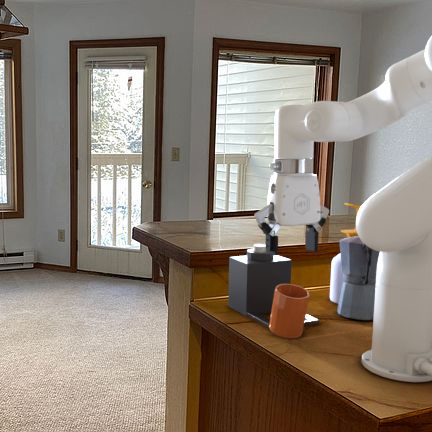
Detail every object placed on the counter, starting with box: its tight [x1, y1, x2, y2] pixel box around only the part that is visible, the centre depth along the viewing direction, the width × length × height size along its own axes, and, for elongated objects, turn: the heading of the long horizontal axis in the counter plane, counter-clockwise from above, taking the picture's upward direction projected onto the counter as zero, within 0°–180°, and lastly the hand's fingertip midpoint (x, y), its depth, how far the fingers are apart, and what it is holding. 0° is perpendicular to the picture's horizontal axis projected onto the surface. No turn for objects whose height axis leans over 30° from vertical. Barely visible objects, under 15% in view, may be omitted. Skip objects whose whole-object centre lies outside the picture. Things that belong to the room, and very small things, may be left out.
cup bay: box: [245, 311, 320, 330], centre depth 124 cm, size 10×12×1 cm
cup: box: [269, 283, 311, 339], centre depth 114 cm, size 7×7×9 cm
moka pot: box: [336, 236, 380, 321], centre depth 125 cm, size 10×15×20 cm, turn 174°
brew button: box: [253, 243, 266, 253], centre depth 130 cm, size 3×3×2 cm
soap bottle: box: [329, 202, 361, 305], centre depth 136 cm, size 9×9×25 cm
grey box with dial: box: [227, 248, 293, 317], centre depth 131 cm, size 8×12×14 cm, turn 112°
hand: (292, 252), depth 113 cm, fingers open, 9 cm apart
